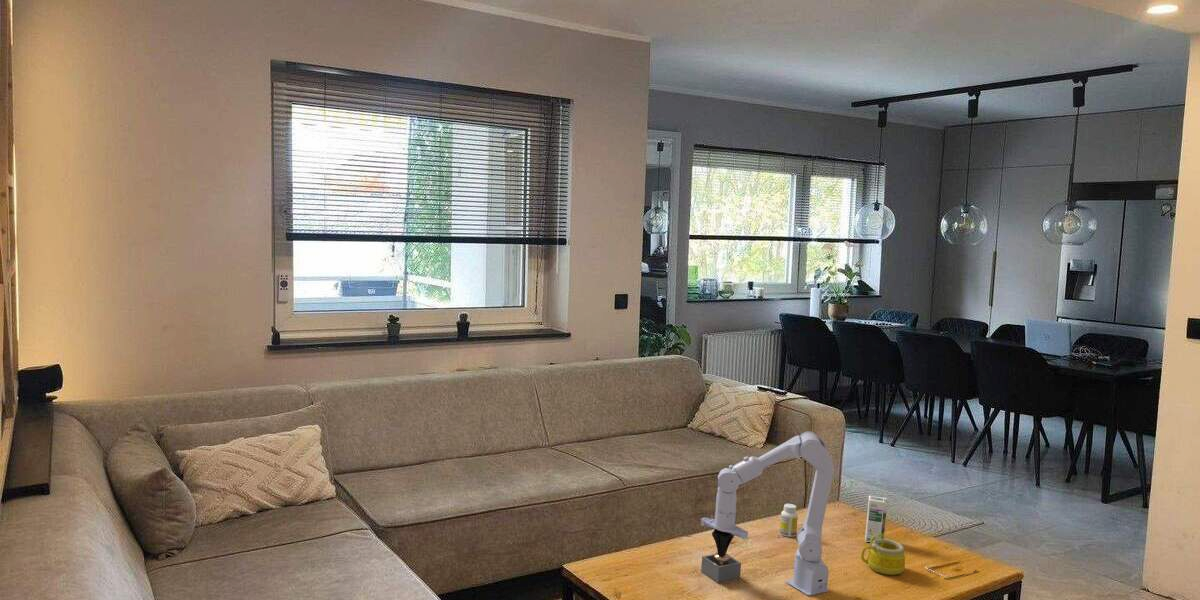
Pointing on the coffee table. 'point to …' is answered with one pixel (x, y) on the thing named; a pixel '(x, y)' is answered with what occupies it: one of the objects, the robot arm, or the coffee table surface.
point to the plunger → (721, 559)
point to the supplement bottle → (788, 521)
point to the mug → (885, 556)
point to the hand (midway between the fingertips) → (721, 555)
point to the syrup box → (876, 517)
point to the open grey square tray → (720, 569)
